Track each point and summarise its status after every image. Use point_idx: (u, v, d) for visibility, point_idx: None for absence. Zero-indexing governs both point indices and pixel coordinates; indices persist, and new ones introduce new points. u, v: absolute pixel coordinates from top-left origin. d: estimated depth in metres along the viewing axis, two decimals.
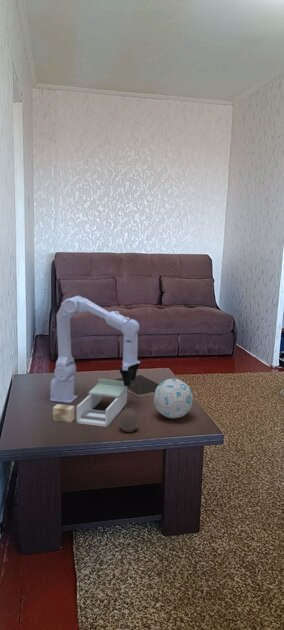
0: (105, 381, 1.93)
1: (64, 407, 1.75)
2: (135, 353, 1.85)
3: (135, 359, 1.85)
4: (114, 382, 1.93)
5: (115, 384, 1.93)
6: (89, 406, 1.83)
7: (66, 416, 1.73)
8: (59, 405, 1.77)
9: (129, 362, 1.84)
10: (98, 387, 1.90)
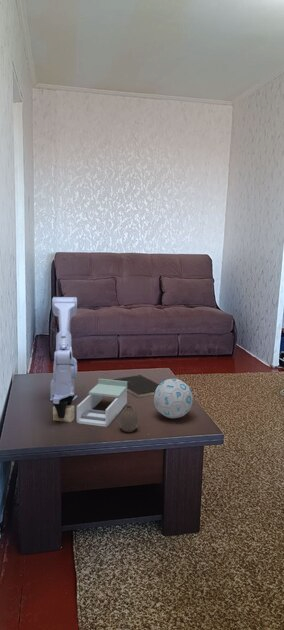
0: (105, 381, 1.93)
1: None
2: (68, 384, 1.72)
3: (68, 391, 1.72)
4: (114, 382, 1.93)
5: (115, 384, 1.93)
6: (89, 406, 1.83)
7: (66, 416, 1.73)
8: None
9: (61, 394, 1.71)
10: (98, 387, 1.90)
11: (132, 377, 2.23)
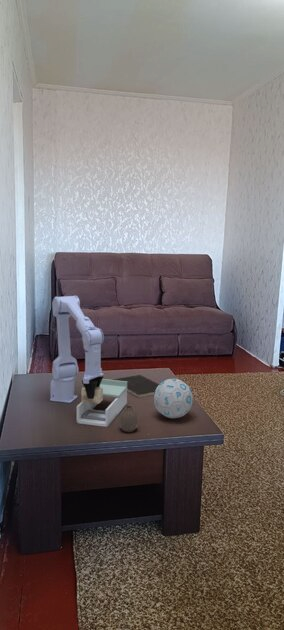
0: (105, 381, 1.93)
1: None
2: (98, 365, 1.71)
3: (98, 371, 1.72)
4: (114, 382, 1.93)
5: (115, 384, 1.93)
6: (89, 406, 1.83)
7: (95, 397, 1.73)
8: None
9: (91, 374, 1.71)
10: None
11: (132, 377, 2.23)
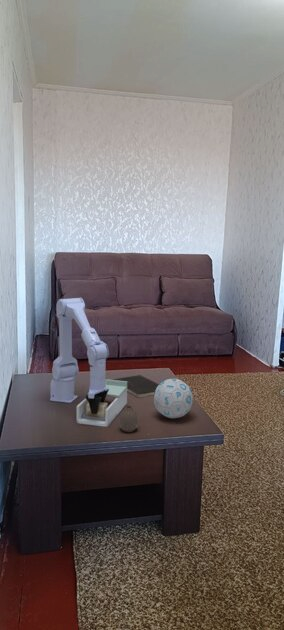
0: (105, 381, 1.93)
1: None
2: (103, 379, 1.73)
3: (103, 385, 1.73)
4: (114, 382, 1.93)
5: (115, 384, 1.93)
6: None
7: (100, 413, 1.74)
8: None
9: (96, 389, 1.72)
10: None
11: (132, 377, 2.23)
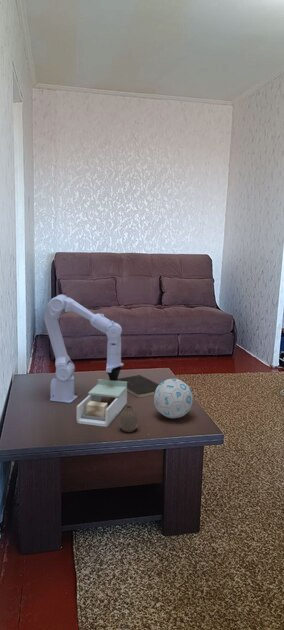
0: (105, 381, 1.93)
1: (97, 404, 1.76)
2: (118, 356, 1.91)
3: (119, 361, 1.91)
4: (114, 382, 1.92)
5: (115, 384, 1.92)
6: None
7: (100, 413, 1.74)
8: (92, 402, 1.77)
9: (113, 364, 1.90)
10: (97, 387, 1.90)
11: (132, 377, 2.23)
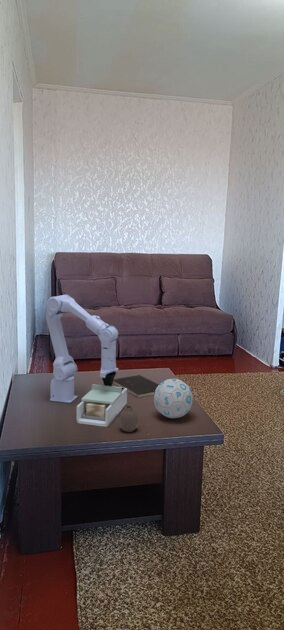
0: (99, 387, 1.86)
1: (97, 404, 1.76)
2: (113, 360, 1.84)
3: (113, 366, 1.84)
4: (108, 388, 1.85)
5: (109, 390, 1.85)
6: None
7: (100, 413, 1.74)
8: (92, 402, 1.77)
9: (107, 369, 1.83)
10: (91, 393, 1.83)
11: (131, 377, 2.23)
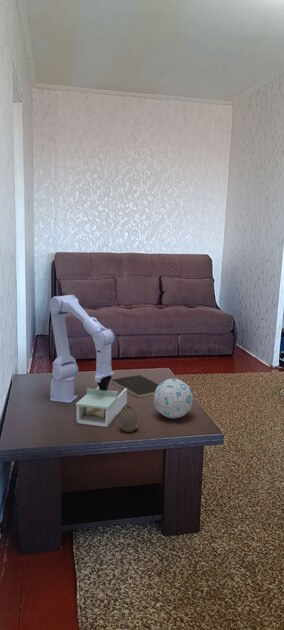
0: (94, 391, 1.81)
1: None
2: (108, 364, 1.78)
3: (108, 370, 1.79)
4: (104, 392, 1.80)
5: (105, 394, 1.80)
6: None
7: (100, 413, 1.74)
8: None
9: (102, 373, 1.78)
10: (86, 397, 1.77)
11: (131, 377, 2.23)
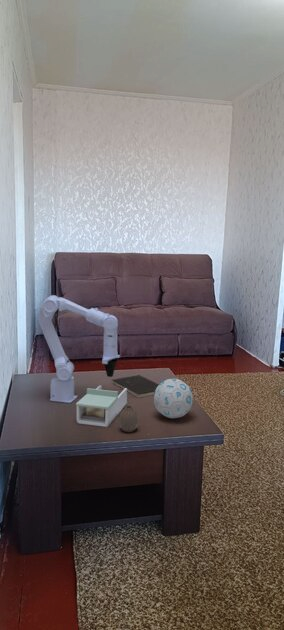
0: (94, 391, 1.81)
1: None
2: (115, 347, 1.92)
3: (115, 353, 1.92)
4: (104, 392, 1.80)
5: (105, 394, 1.80)
6: None
7: (100, 413, 1.74)
8: None
9: (109, 356, 1.91)
10: (86, 397, 1.78)
11: (131, 377, 2.23)
